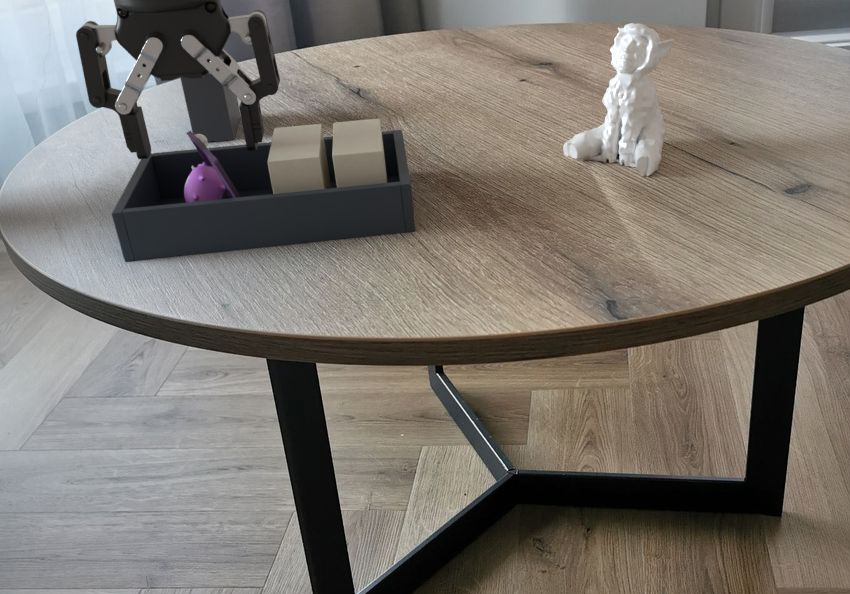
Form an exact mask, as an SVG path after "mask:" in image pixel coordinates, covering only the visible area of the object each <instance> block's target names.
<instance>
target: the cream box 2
mask: <svg viewBox="0 0 850 594" xmlns="http://www.w3.org/2000/svg"><path fill="white" fill-rule="evenodd" d="M381 123H382V122H381V118H369V119H359V120H357V119H356V120H347V121H337V122H333V125H332V136H333V150H332V158H333V164H334V171H335V178H336V185H337V188H340V187H350V186H360V185H370V184H380V183H388V181H387V172H386V164H385V155H384V147H383V139H382V132H383V131H382V124H381Z"/></svg>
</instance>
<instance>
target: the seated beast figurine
mask: <svg viewBox="0 0 850 594" xmlns="http://www.w3.org/2000/svg"><path fill="white" fill-rule="evenodd" d="M617 30H618V32H617V34H616V36H615V37H614V39H613V41H614V44H613V45H612V46H610V48H609V52H610V53H611V61H610V65H611V66H612V67H613V69H614V70H615V71H616V74H615V76H614V77H612V78H610V80H609V84H608V85H609V86H608V87H607V88H606V91H605V93H604V94H603V97H602V99H601V102H602V104H603V106H604V107H605V109H606V111H607V113H606V115H605V117H604V122H603V123H602V124H601V125H599V126H598V127H593V128H590V129H589V130H584V131H580V132H579V133H576V134H575V135H574V136H573V137H572V138H570V139H569V140H567V141H566V142H564V143H563V147H562V149H563V155H564V156H566V157H570V158H572V159H574V160H579V159H582V161H583V162H586V161H596V162H602V163H607V161H608V163H609V164H613V163H619V165H620V166H623V165H624V167H632V168H636V170H637V172H638V174H639V175H640V176H641V177H650V176H652V175H653V174H655V172H658V171H659V165H660V164H661V162H662V157H663V156H662V152H663V146H664V142H665V139H666V138H665V134H666V131H667V127H666V125H665V122H664V120H665V119H664V115H663V114H662V109H661V108H660V106H659V101H658V100H659V96H658V94H657V93H658V89H657V85H656V83H654V81H653V80H652V76H650V73H652V72H653V71H655V70H657V69H658V66H659V64H660V62H661V60H662V58H665V56H667V55H668V54H669V53H670V52H671V50H672V47H673V44H674V41H675V39H674V38H673V39H672V38H670V39H667V40H661V39H660V34H659V33H657V31H656V30H655V29H653V28H651V27H648V26H647V25H646V24H642V23H640V22H637V23H633V22H630V23H626V24H625V25H624V27H619V26H618V27H617ZM618 155H619V156H618Z"/></svg>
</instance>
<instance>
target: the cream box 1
mask: <svg viewBox="0 0 850 594" xmlns="http://www.w3.org/2000/svg"><path fill="white" fill-rule="evenodd" d="M324 137H325V136H324V131H323V124H322V123H313V124H303V125H301V124H300V125H293V126H282V127H281V126H280V127H274V129H273V134H272V138H271V141H270V142H271V147H270V152H269V157H268V168H269V173H270V178H271V184H272V189H273V194H279V193H289V192H299V191H310V190H320V189H330V188H331V183H330V176H329V170H328V163H327V157H326V150H325V143H324Z"/></svg>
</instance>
